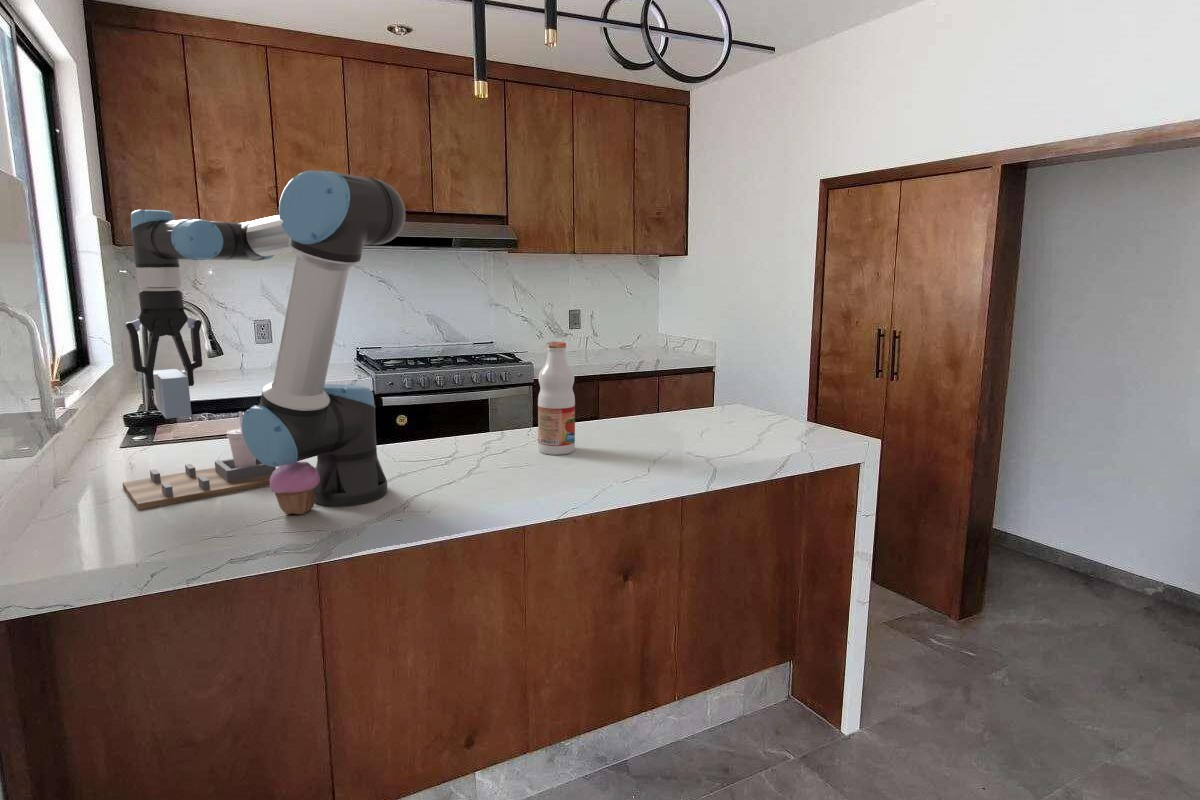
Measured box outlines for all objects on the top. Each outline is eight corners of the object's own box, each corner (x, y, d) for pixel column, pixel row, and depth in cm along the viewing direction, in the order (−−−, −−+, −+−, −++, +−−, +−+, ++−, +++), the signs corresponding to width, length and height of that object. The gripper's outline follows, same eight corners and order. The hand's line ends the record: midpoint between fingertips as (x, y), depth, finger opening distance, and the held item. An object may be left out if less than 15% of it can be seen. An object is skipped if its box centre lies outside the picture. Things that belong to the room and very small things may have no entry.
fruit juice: (537, 446, 190) (536, 340, 185) (573, 445, 191) (573, 340, 186) (539, 456, 181) (538, 344, 176) (576, 455, 182) (576, 344, 177)
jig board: (287, 482, 158) (287, 477, 158) (138, 509, 140) (137, 503, 140) (262, 464, 171) (261, 459, 171) (123, 487, 153) (122, 482, 153)
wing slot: (210, 489, 149) (209, 480, 148) (166, 497, 144) (165, 487, 143) (191, 472, 161) (190, 463, 160) (150, 479, 156) (149, 470, 155)
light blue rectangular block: (156, 407, 154) (152, 370, 152) (180, 405, 157) (176, 368, 155) (166, 418, 143) (161, 379, 141) (191, 416, 146) (187, 376, 144)
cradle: (276, 473, 160) (275, 462, 160) (227, 482, 154) (226, 471, 153) (262, 464, 167) (261, 453, 167) (215, 472, 161) (214, 461, 161)
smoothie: (227, 477, 157) (221, 414, 154) (233, 470, 163) (228, 409, 160) (259, 475, 158) (253, 413, 156) (264, 468, 164) (259, 407, 162)
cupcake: (328, 504, 144) (324, 456, 142) (312, 520, 135) (308, 468, 133) (282, 505, 143) (279, 456, 141) (264, 520, 135) (260, 468, 133)
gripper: (204, 288, 153) (215, 396, 158) (105, 289, 142) (119, 405, 147) (213, 289, 148) (223, 401, 152) (110, 291, 137) (125, 411, 141)
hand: (172, 403), depth 149 cm, fingers closed on light blue rectangular block, 5 cm apart
